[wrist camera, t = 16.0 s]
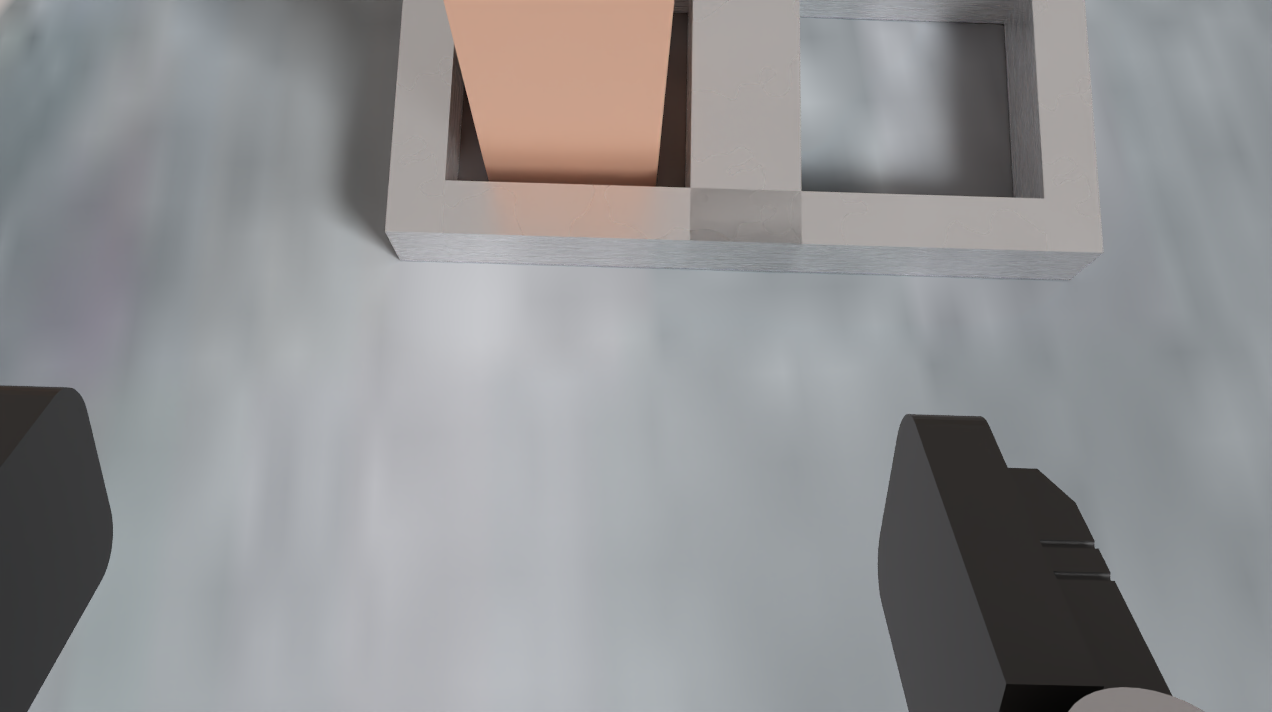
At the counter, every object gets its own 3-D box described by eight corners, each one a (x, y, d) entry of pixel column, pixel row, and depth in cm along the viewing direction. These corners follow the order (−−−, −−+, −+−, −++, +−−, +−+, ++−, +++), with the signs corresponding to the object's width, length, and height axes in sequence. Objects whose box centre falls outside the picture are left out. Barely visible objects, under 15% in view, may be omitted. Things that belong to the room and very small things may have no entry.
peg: (497, 36, 30) (451, -217, 21) (657, 40, 30) (677, -210, 22) (490, 186, 29) (439, -15, 20) (655, 189, 29) (675, -9, 21)
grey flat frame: (1050, -19, 31) (1080, -65, 29) (1070, 279, 29) (1103, 253, 27) (422, -41, 31) (410, -88, 29) (400, 260, 29) (384, 231, 27)
